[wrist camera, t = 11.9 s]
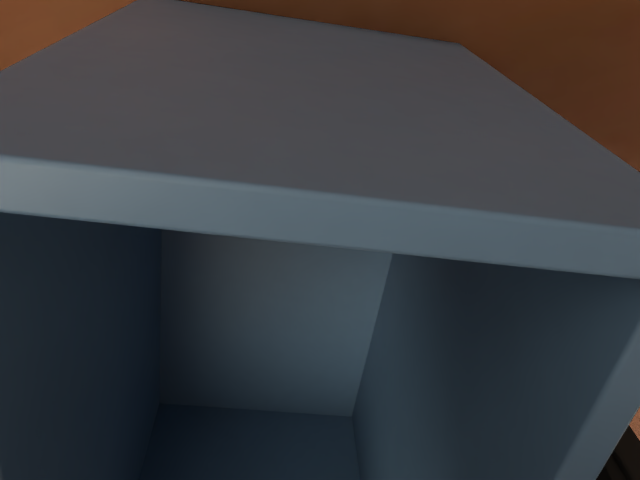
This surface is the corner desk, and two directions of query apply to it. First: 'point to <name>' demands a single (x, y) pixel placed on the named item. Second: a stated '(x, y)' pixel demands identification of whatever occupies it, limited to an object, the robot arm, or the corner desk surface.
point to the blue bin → (304, 260)
